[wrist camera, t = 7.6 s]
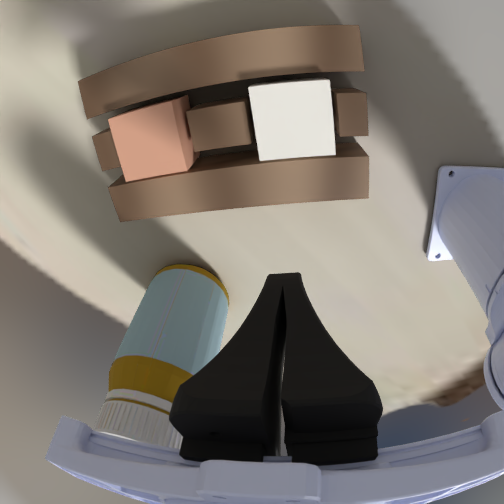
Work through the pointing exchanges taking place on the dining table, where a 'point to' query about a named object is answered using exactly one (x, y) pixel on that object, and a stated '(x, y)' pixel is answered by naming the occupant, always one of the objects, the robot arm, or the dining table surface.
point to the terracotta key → (154, 139)
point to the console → (236, 122)
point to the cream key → (293, 118)
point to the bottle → (163, 353)
